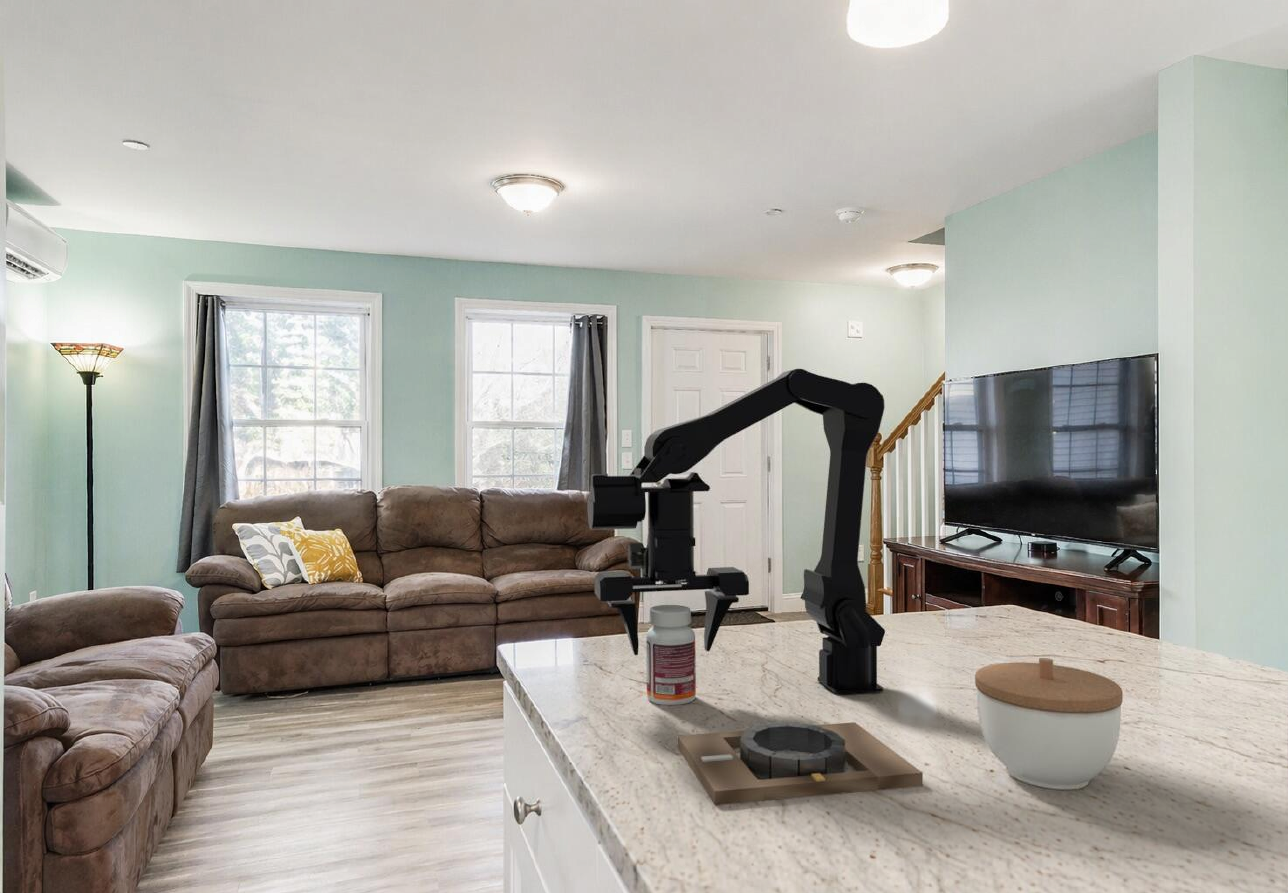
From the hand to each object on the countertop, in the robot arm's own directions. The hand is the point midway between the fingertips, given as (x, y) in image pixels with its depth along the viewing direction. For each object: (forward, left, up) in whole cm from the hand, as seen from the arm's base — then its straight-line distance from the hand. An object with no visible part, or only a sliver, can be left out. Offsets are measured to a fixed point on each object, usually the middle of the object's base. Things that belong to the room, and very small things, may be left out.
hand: (671, 652), depth 101 cm
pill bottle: (0, 0, -6) cm, 6 cm away
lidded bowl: (-30, +30, -6) cm, 43 cm away
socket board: (-7, +23, -6) cm, 25 cm away
